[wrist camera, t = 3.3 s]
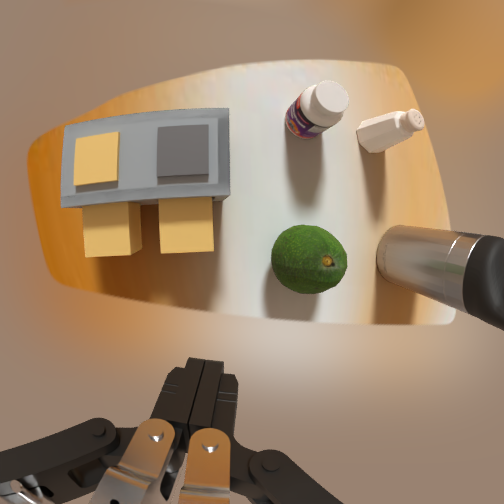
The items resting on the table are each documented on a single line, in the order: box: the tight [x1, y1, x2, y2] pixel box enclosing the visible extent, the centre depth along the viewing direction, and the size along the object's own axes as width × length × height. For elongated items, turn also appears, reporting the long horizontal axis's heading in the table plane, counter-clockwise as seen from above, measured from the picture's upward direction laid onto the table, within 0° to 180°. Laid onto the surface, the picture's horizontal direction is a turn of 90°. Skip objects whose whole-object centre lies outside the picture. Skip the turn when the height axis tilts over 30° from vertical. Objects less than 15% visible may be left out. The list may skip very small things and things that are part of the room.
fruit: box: [271, 225, 347, 294], centre depth 31 cm, size 8×8×12 cm
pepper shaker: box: [357, 109, 424, 153], centre depth 31 cm, size 5×5×11 cm
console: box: [61, 108, 230, 208], centre depth 26 cm, size 16×8×12 cm, turn 92°
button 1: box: [82, 202, 142, 257], centre depth 26 cm, size 5×8×5 cm, turn 2°
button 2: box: [158, 197, 214, 254], centre depth 27 cm, size 5×8×5 cm, turn 2°
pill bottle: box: [285, 81, 349, 139], centre depth 29 cm, size 5×5×10 cm
